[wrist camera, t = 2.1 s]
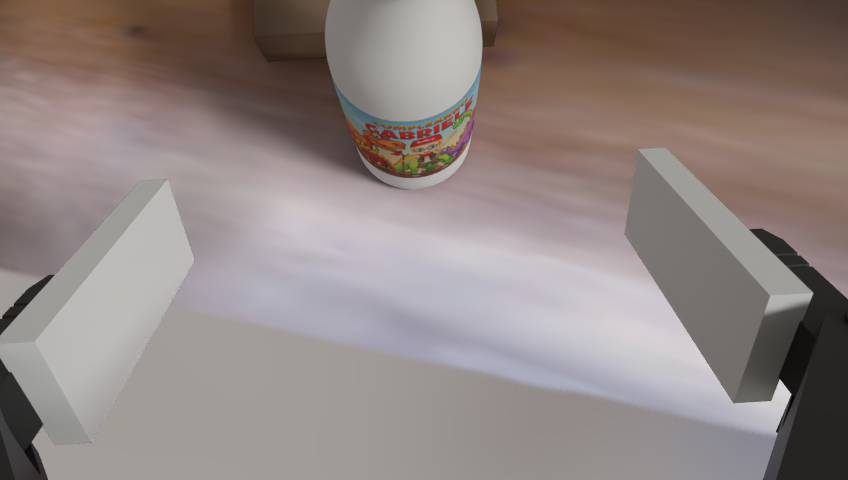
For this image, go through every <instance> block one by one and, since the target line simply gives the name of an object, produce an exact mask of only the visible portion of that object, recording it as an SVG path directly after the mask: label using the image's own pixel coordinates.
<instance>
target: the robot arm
mask: <svg viewBox="0 0 848 480" xmlns="http://www.w3.org/2000/svg"><path fill="white" fill-rule="evenodd" d="M625 235H626V237H627V239H628V240H629V242H630V243H631V245H632V246H633V248H634V249H635V251H636V252H637V254H638V256H639V257H640V259H641V260H642V262H643V263H644V265H645V266H646V268H647V270H648V271H649V273H650V274H651V276H652V277H653V279H654V280H655V282H656V284H657V285H658V287H659V288H660V290H661V291H662V293H663V294H664V296H665V298H666V299H667V301H668V302H669V304H670V305H671V307H672V308H673V310H674V312H675V313H676V315H677V316H678V318H679V319H680V321H681V322H682V324H683V326H684V327H685V329H686V330H687V332H688V333H689V335H690V336H691V338H692V340H693V341H694V343H695V344H696V346H697V347H698V349H699V350H700V352H701V354H702V355H703V357H704V358H705V360H706V361H707V363H708V364H709V366H710V368H711V369H712V371H713V372H714V374H715V375H716V377H717V378H718V380H719V381H720V383H721V385H722V386H723V388H724V389H725V391H726V392H727V394H728V395H729V397H730V399H731V400H732V402H733V403H744V402H760V401H771V400H772V397H773V395H774V392H775V389H776V387H777V384H778V382H779V379H780V380H781V381H782V382H783V384H784V385H785V386H786V388H787V389H788V390H789V391H790V393H791V394H792V395H791V397H790V399H789V402H788V404H787V407H786V409H785V411H784V414H783V416H782V418H781V421H780V423H779V426H778V428H777V430H776V432H777V433H778V435H777V438H776V441H775V444H774V447H773V450H772V453H771V456H770V460H769V463H768V466H767V469H766V472H765V475H764V478H763V480H848V299H847V298H846V297H845V296H844V295H843V294H841V293H840V292H839V291H838V290H837V289H836V288H835V287H834V286H833V285H832V284H831V283H829V282H828V281H827V280H826V279H825V278H824V277H823V276H822V275H821V274H820V273H819V272H818V271H816V270H815V269H814V268H813V267H809V263H808V262H807V261H806V260H804V259H803V258H802V257H801V256H798V255H797V252H796V251H795V250H794V249H793V248H791V247H790V246H789V245H788V244H787V243H786V242H785V241H784V240H783V239H781V238H779V237H777V236H775V235H773V234H771V233H769V232H767V231H765V230H763V229H748V228H747V227H746V226H745V225H744V224H743V223H742V222H741V221H740V220H739V219H738V218H737V217H736V216H735V215H733V214H732V213H731V212H730V211H729V210H728V209H727V208H726V207H725V206H724V205H723V204H722V203H721V202H720V201H719V200H718V199H717V198H716V197H715V196H714V195H713V194H712V193H711V192H710V191H709V190H708V189H707V188H706V187H705V186H704V185H703V184H702V183H701V182H700V181H699V180H698V179H697V178H696V177H695V176H694V175H693V174H692V173H691V172H690V171H689V170H688V169H687V168H686V167H685V166H684V165H683V164H682V163H681V162H679V161H678V160H677V159H676V158H675V157H674V156H673V155H672V154H671V153H670V152H669V151H668V150H667V149H666V148H651V149H638V151H637V158H636V164H635V170H634V177H633V183H632V189H631V196H630V202H629V208H628V215H627V221H626V227H625ZM193 263H194V257H193V254H192V251H191V248H190V245H189V242H188V239H187V236H186V233H185V230H184V227H183V224H182V221H181V218H180V215H179V212H178V209H177V206H176V203H175V200H174V197H173V194H172V191H171V188H170V185H169V182H168V179H164V180H149V181H140V182H139V183H138V184H137V185H136V186H135V187H134V189H133V190H132V191H131V192H130V193H129V194H128V195H127V196H126V197H125V198H124V200H123V201H122V202H121V203H120V204H119V205H118V206H117V207H116V208H115V210H114V211H113V212H112V213H111V214H110V215H109V216H108V217H107V218H106V219H105V221H104V222H103V223H102V224H101V225H100V226H99V227H98V228H97V229H96V230H95V232H94V233H93V234H92V235H91V236H90V237H89V238H88V239H87V240H86V241H85V243H84V244H83V245H82V246H81V247H80V248H79V249H78V250H77V251H76V252H75V254H74V255H73V256H72V257H71V258H70V259H69V260H68V261H67V262H66V263H65V265H64V266H63V267H62V268H61V269H60V270H59V271H58V272H57V273H56V274H55V275H48V276H47V277H45V278H44V279H42V280H41V281H39V282H38V283H36V284H35V285H33V286H32V287H30V288H29V289H27V290H26V291H25V293H24V294H23V295H22V296H21V297H20V298H19V299H18V300H17V301H16V302H15V303H14V307H10V309H9V310H8V311H7V312H6V313H5V314H4V315H3V316H2V317H3V318H2V319H0V480H48V478H47V475H46V472H45V469H44V467H43V464H42V461H41V459H40V456H39V453H38V451H37V450H36V449H35V447H34V445H33V444H32V440H33V439H34V437H35V436H36V434H37V433H38V431H39V430H40V428H41V427H42V426H43V428H44V429H45V431H46V432H47V434H48V436H49V437H50V439H51V441H52V442H53V444H54V445H66V444H81V443H82V444H83V443H92V442H93V440H94V438H95V436H96V435H97V433H98V431H99V429H100V427H101V426H102V424H103V422H104V420H105V419H106V417H107V415H108V413H109V412H110V410H111V408H112V406H113V404H114V403H115V401H116V399H117V397H118V396H119V394H120V392H121V390H122V388H123V387H124V385H125V383H126V381H127V380H128V378H129V376H130V374H131V372H132V371H133V369H134V367H135V365H136V364H137V361H138V360H139V358H140V357H141V355H142V353H143V351H144V350H145V348H146V346H147V344H148V342H149V341H150V339H151V337H152V335H153V334H154V332H155V330H156V328H157V327H158V325H159V323H160V321H161V320H162V318H163V316H164V314H165V313H166V311H167V309H168V307H169V305H170V304H171V302H172V300H173V298H174V297H175V295H176V293H177V291H178V290H179V288H180V286H181V284H182V282H183V281H184V279H185V277H186V275H187V274H188V272H189V270H190V268H191V267H192V265H193Z"/></svg>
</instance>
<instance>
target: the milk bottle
mask: <svg viewBox="0 0 848 480" xmlns="http://www.w3.org/2000/svg"><path fill="white" fill-rule="evenodd" d="M325 46H326V54H327V60H328V64H329V68H330V72H331V75H332V79H333V82H334V86H335V89H336V92H337V95H338V98H339V100H340V103H341V106H342V109H343V112H344V115H345V118H346V120H347V123H348V126H349V129H350V131H351V134H352V137H353V140H354V142H355V145H356V148H357V150H358V153H359V155H360V157H361V159H362V161H363V163H364V164H365V166H366V167H367V168H368V169H369V171H370V172H371V173H372V174H373V175H375V176H376V177H377V178H378V179H380V180H381V181H383V182H385V183H387V184H389V185H392V186H395V187H398V188H403V189H422V188H427V187H431V186H433V185H436V184H438V183H440V182H442V181H444V180H446V179H447V178H448V177H450V176H451V175H452V174H453V173H454V172H455V171H456V170H457V169H458V168H459V167H460V165H461V164H462V163H463V161H464V159H465V157H466V155H467V152H468V149H469V146H470V141H471V136H472V130H473V124H474V117H475V110H476V103H477V96H478V88H479V81H480V73H481V61H482V30H481V22H480V18H479V14H478V10H477V7H476V4H475V1H474V0H331V1H330V4H329V7H328V12H327V17H326V25H325Z"/></svg>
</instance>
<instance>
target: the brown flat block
mask: <svg viewBox="0 0 848 480" xmlns="http://www.w3.org/2000/svg"><path fill="white" fill-rule="evenodd" d="M330 1H331V0H253V37H254V39H255V41H256V43H257V45H258V46H259V48H260V50H261V52H262V54H263V55H264V57H265V59H266V61H278V60H293V59H308V58H323V57H327V54H326V46H325V25H326V17H327V12H328V7H329V4H330ZM474 1H475V4H476V7H477V10H478V14H479V18H480V22H481V30H482V47H487V46H494V41H495V35H496V30H497V24H498V13H497V4H496V0H474Z"/></svg>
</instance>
